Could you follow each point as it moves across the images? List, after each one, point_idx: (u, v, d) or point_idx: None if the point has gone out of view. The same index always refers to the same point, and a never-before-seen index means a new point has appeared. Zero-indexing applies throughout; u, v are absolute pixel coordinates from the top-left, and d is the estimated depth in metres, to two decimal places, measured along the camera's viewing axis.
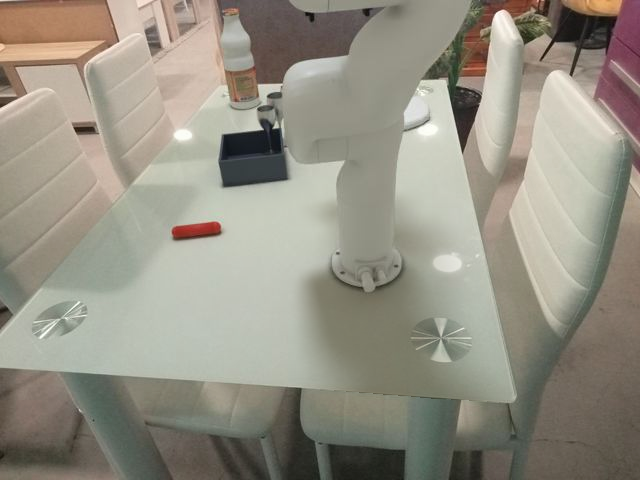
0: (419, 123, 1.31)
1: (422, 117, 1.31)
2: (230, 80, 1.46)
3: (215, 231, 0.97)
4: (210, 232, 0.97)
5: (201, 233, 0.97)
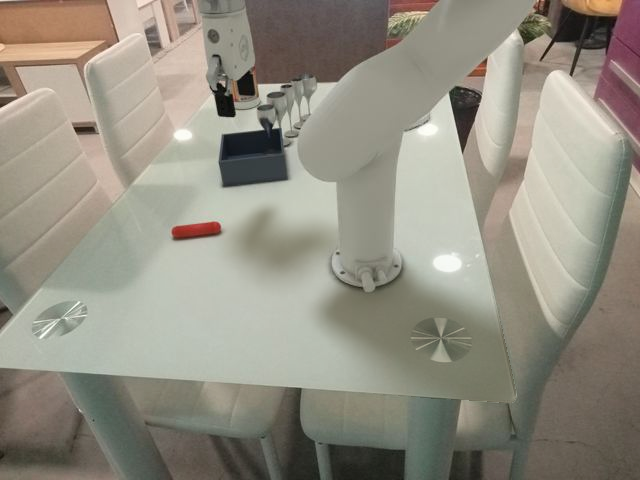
0: (419, 123, 1.31)
1: (422, 117, 1.31)
2: None
3: (215, 231, 0.97)
4: (210, 232, 0.97)
5: (201, 233, 0.97)
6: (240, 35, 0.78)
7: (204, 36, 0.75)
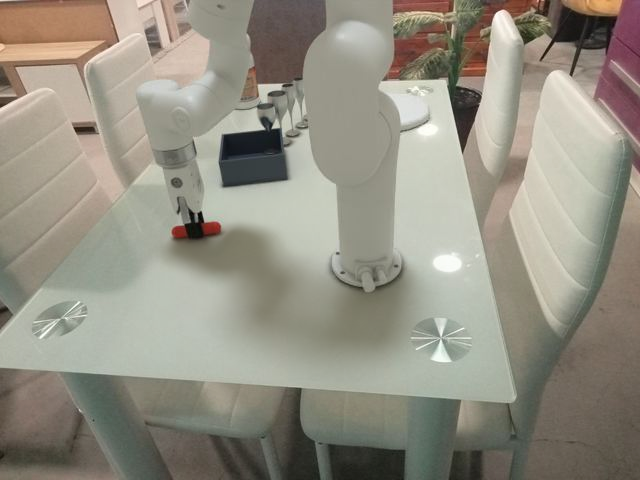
0: (419, 123, 1.31)
1: (422, 117, 1.31)
2: None
3: (215, 231, 0.97)
4: (210, 232, 0.97)
5: None
6: (195, 174, 0.89)
7: (167, 183, 0.85)
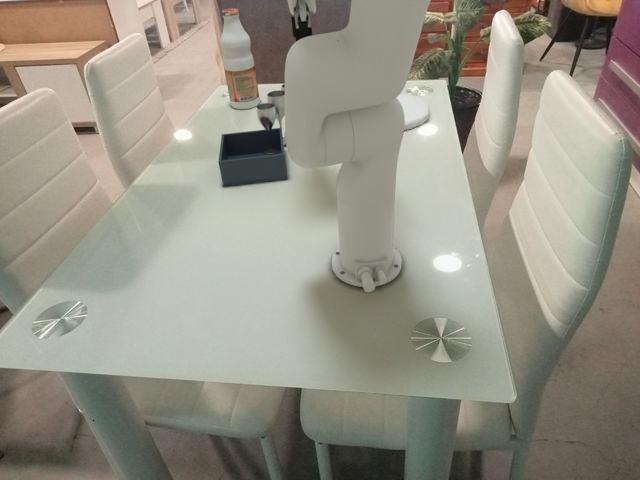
0: (419, 123, 1.31)
1: (422, 117, 1.31)
2: (230, 80, 1.46)
3: None
4: None
5: None
6: None
7: None
